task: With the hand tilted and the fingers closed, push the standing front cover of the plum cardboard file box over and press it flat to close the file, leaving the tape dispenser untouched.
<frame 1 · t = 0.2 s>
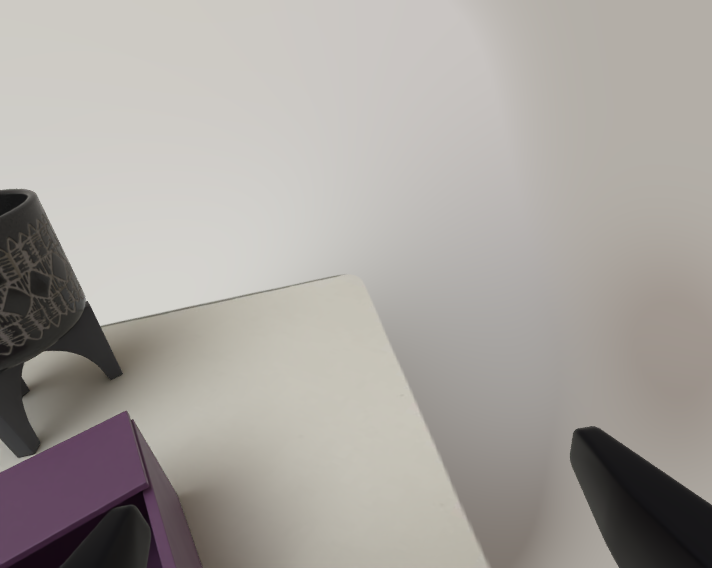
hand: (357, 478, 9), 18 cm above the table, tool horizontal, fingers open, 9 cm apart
planter: (57, 405, 39), on the table
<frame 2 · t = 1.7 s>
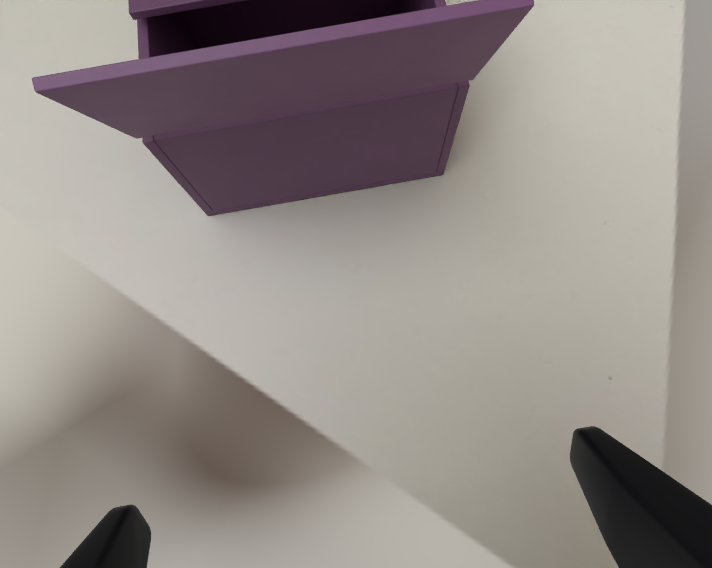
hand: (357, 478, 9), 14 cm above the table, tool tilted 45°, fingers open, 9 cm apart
file box: (311, 109, 27), on the table
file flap: (295, 78, 15), point 11 cm above the table, hinge at 112.0°
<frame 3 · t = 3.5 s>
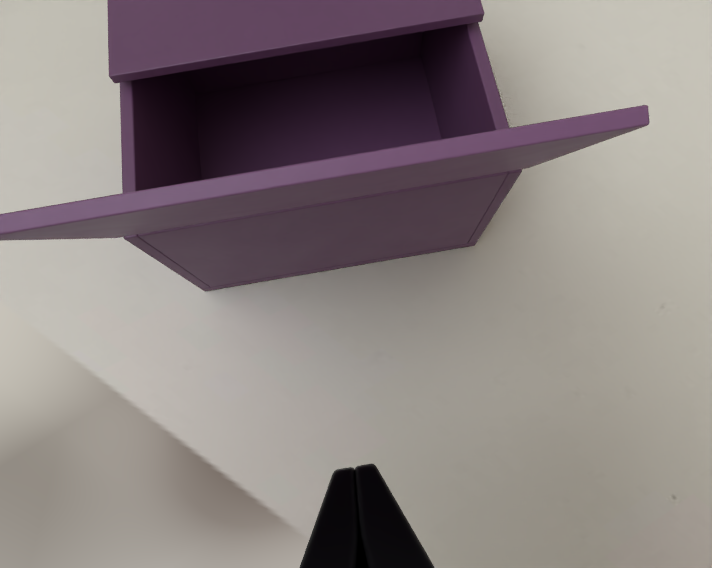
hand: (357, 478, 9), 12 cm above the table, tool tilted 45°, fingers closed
file box: (323, 165, 24), on the table
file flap: (314, 187, 12), point 11 cm above the table, hinge at 112.0°
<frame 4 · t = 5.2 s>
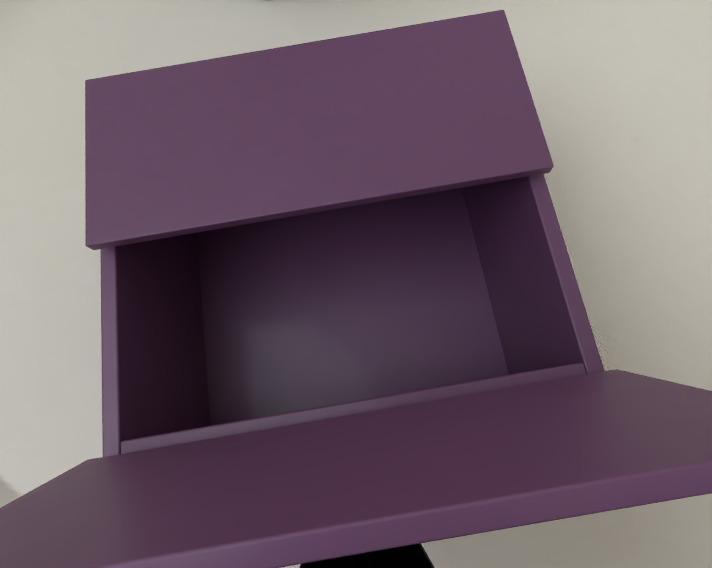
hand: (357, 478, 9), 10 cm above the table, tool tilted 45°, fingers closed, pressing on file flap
file box: (341, 282, 21), on the table
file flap: (352, 460, 8), point 11 cm above the table, hinge at 101.6°, touching gripper
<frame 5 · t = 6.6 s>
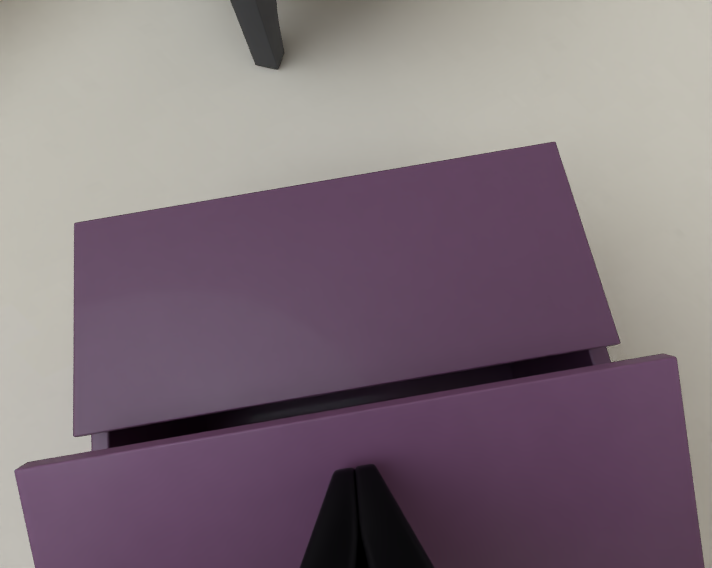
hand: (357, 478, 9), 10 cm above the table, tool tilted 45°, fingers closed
file box: (359, 396, 19), on the table
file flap: (369, 542, 9), point 9 cm above the table, hinge at 18.0°
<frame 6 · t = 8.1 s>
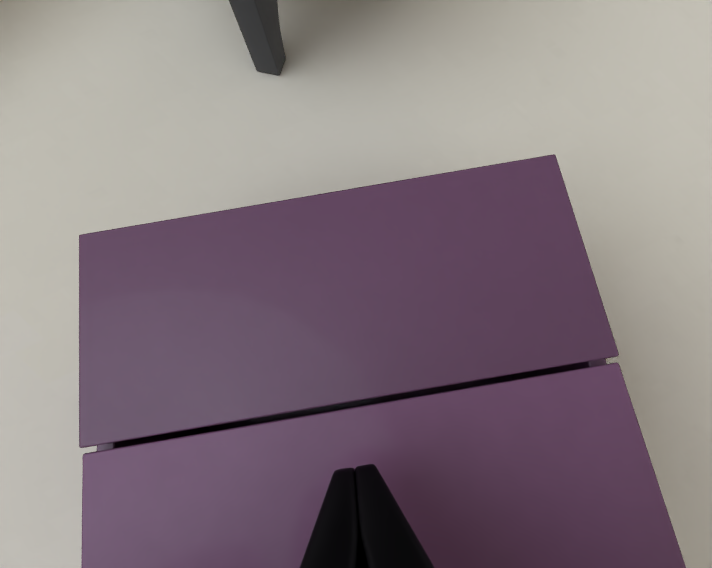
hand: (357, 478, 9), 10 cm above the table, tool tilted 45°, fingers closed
file box: (360, 402, 19), on the table
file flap: (370, 532, 11), point 8 cm above the table, hinge at -1.3°
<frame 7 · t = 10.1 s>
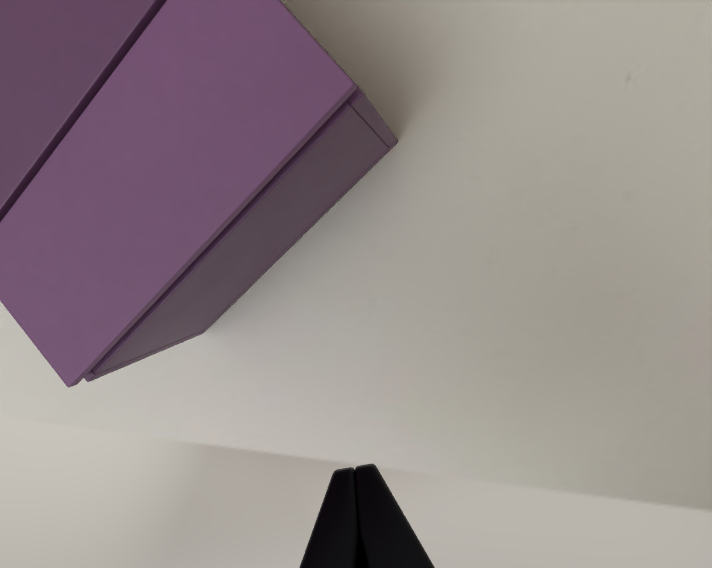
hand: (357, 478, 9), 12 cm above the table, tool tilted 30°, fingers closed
file box: (214, 155, 22), on the table
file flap: (138, 186, 14), point 8 cm above the table, hinge at -1.3°
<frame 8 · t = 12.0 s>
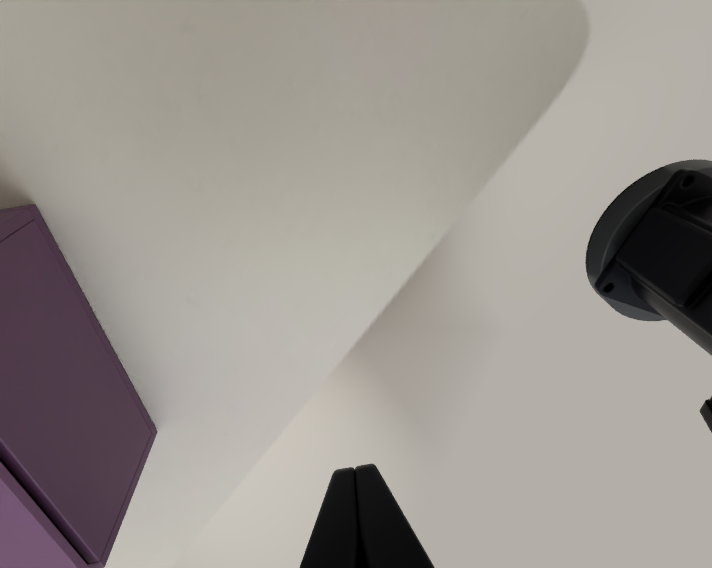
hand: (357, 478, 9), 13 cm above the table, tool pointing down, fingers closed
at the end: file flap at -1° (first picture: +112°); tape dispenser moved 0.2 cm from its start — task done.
